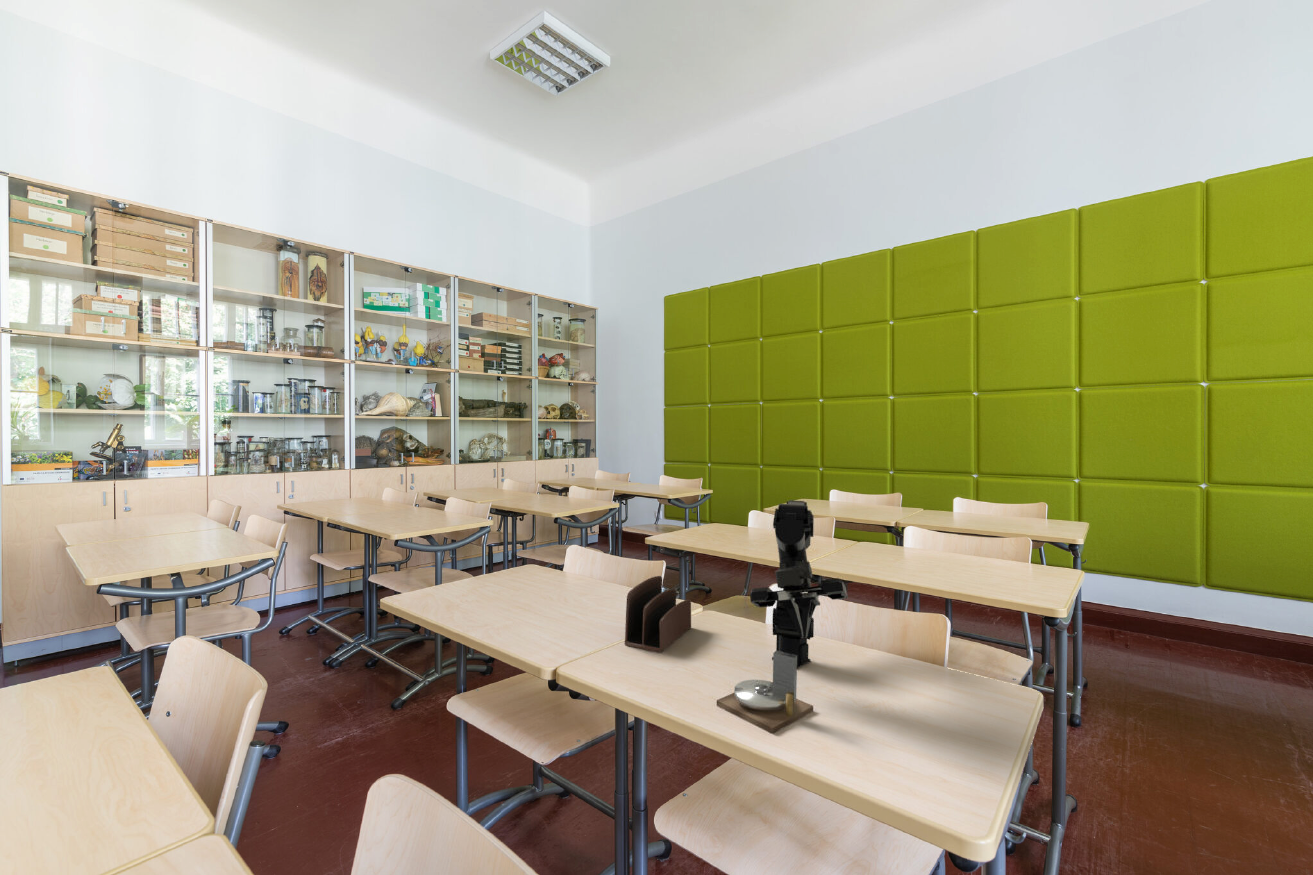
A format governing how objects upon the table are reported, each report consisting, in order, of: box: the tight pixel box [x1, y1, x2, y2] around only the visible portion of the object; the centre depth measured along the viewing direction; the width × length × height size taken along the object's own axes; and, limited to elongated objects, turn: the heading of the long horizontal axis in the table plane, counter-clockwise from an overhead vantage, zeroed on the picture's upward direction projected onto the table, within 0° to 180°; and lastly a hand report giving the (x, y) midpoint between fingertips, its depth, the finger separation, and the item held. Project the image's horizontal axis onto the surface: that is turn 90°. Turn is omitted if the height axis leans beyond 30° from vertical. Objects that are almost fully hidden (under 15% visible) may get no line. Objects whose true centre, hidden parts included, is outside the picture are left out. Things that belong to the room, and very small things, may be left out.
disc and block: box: [733, 650, 798, 711], centre depth 103 cm, size 12×10×9 cm
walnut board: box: [716, 692, 814, 734], centre depth 104 cm, size 13×13×5 cm
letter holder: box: [624, 575, 692, 653], centre depth 141 cm, size 10×20×14 cm, turn 155°
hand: (803, 637), depth 108 cm, fingers closed
